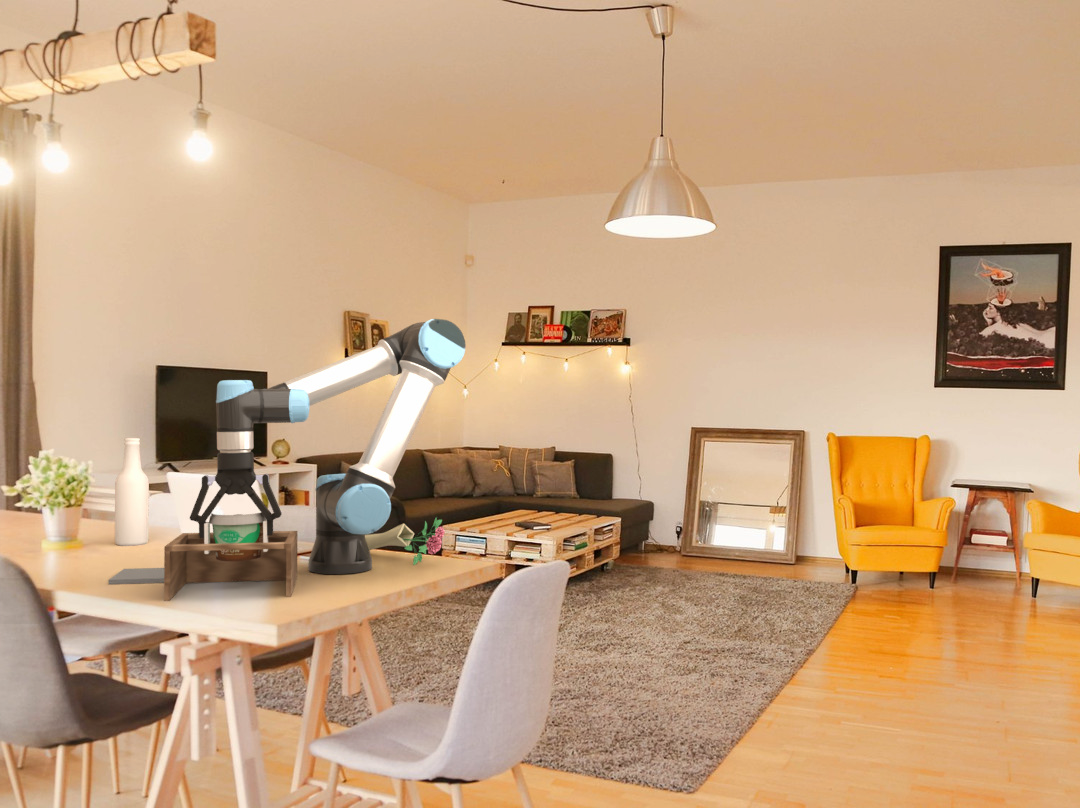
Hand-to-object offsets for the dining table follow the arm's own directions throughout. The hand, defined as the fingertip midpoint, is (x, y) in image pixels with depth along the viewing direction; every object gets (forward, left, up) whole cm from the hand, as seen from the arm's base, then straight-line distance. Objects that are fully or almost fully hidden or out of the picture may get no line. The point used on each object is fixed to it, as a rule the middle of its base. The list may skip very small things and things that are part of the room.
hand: (236, 551), depth 203 cm
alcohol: (+37, -72, -8) cm, 81 cm away
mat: (+21, -17, -8) cm, 28 cm away
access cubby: (0, 0, -8) cm, 8 cm away
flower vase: (-36, -32, -8) cm, 49 cm away
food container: (0, 0, -2) cm, 2 cm away
